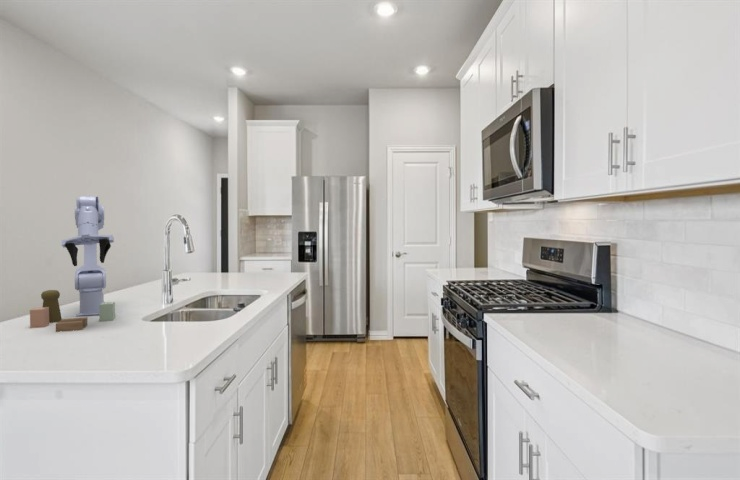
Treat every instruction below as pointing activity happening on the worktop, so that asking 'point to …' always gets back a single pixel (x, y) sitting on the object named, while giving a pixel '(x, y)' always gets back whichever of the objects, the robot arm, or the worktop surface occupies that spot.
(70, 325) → the walnut board
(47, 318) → the terracotta block
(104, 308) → the sage block
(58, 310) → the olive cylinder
